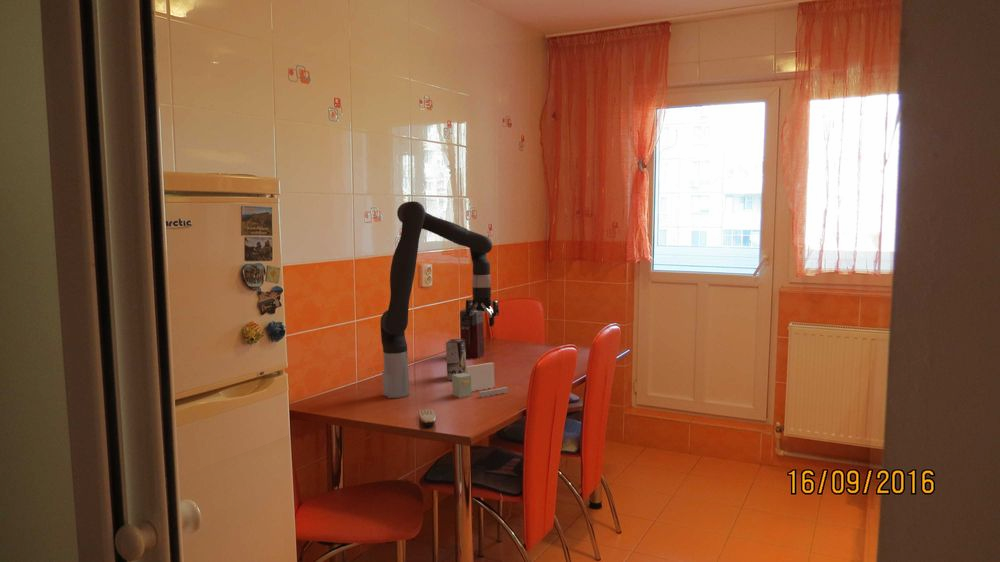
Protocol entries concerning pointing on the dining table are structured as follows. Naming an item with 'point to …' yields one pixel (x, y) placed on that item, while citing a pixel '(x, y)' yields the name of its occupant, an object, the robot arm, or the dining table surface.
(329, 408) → the dining table surface
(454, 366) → the coffee box
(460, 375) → the cabinet block
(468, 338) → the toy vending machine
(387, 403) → the dining table surface
